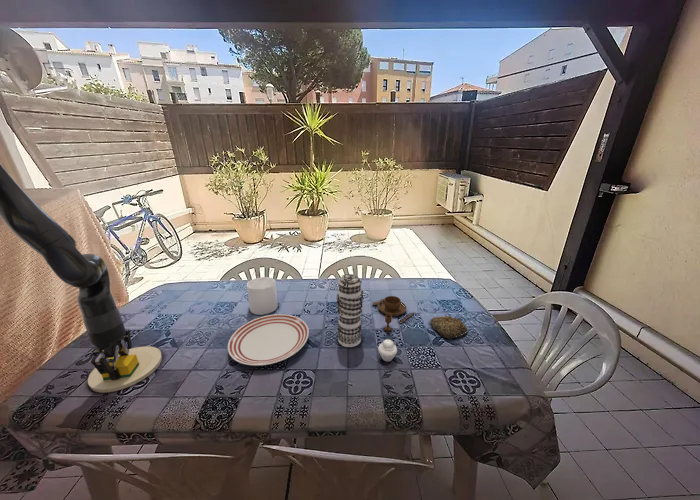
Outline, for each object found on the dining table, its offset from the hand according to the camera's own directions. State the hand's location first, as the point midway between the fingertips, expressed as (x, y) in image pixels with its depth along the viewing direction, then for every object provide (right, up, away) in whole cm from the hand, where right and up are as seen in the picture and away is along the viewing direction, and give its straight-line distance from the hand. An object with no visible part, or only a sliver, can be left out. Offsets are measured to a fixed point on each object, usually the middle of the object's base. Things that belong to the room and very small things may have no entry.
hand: (121, 371), depth 81 cm
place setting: (+84, +10, +33) cm, 91 cm away
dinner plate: (+41, +3, +15) cm, 43 cm away
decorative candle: (+69, +4, +17) cm, 71 cm away
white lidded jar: (+81, +1, +8) cm, 81 cm away
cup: (+31, +11, +37) cm, 50 cm away
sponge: (0, 0, 0) cm, 0 cm away
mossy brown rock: (+107, +6, +23) cm, 110 cm away
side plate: (-1, 0, +3) cm, 3 cm away
